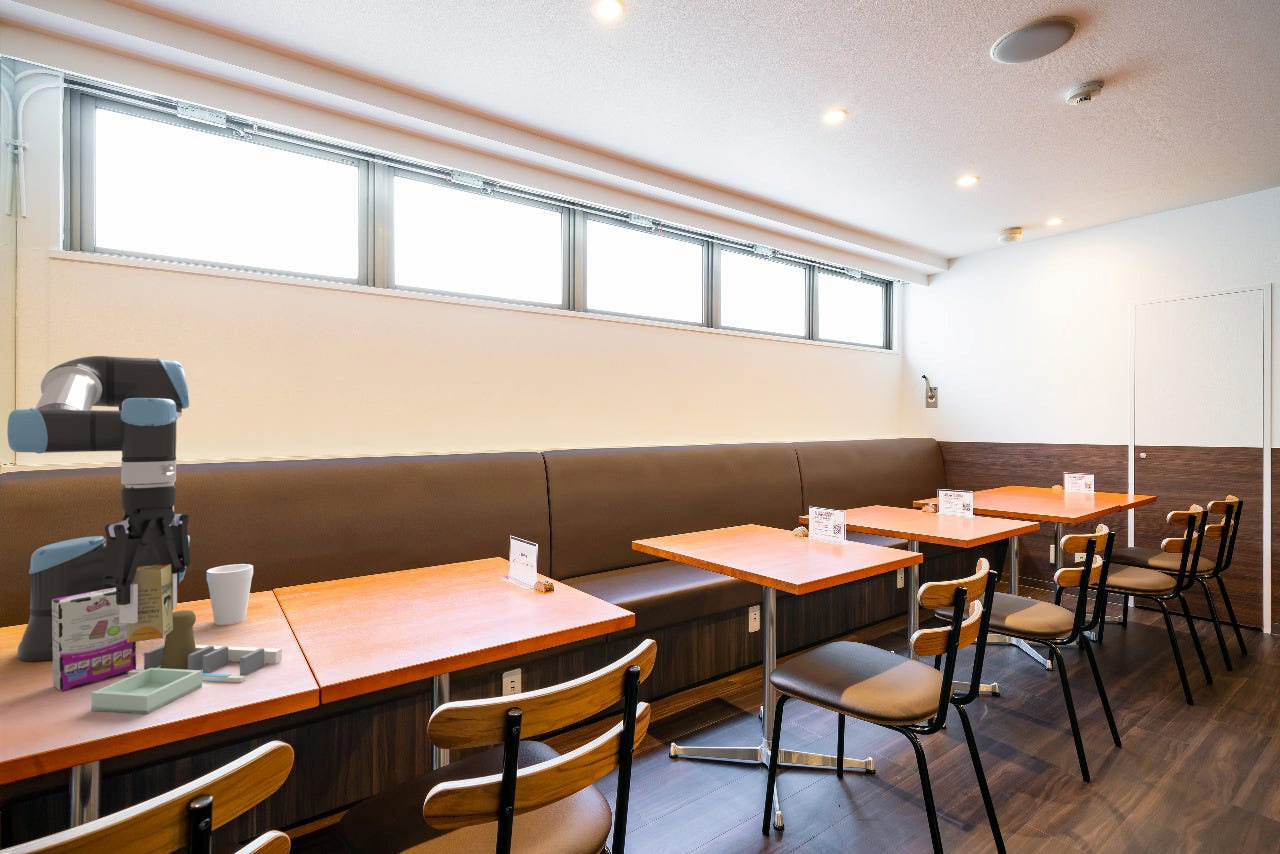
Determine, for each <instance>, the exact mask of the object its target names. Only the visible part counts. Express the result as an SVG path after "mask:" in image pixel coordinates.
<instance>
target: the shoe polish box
mask: <svg viewBox="0 0 1280 854" xmlns="http://www.w3.org/2000/svg"><path fill="white" fill-rule="evenodd" d="M132 584H138V622H136V623H127V643H129V642H136V643H137V642H144V641H150V640H160V639H165V638H166V635H167V634H168V633H170V632H171V631H172V630H173V615H172V613H173V610H172V578H171V564H162V565H152V566H141V567H138V568H137V571H136V574H135V577H134V580H133V583H132Z"/></svg>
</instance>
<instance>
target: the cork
mask: <svg viewBox="0 0 1280 854" xmlns="http://www.w3.org/2000/svg"><path fill="white" fill-rule="evenodd" d="M172 615H173V630H172V631H171V632H170V633H168V634H167V635H166V636H165V637H164V650H163V656H162V662H161V666H160V668H166V669H183V670H188V655H189V654H191V653H194V652H196V646H195V645H196V641H195V635H194V628H193V626H194V625H195V623H196V620H197V616H196V613H194V611H192V610H189V609H188V610H186V609H185V610H177V611H176V610H175V611H172Z"/></svg>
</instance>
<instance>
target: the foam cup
mask: <svg viewBox="0 0 1280 854" xmlns="http://www.w3.org/2000/svg"><path fill="white" fill-rule="evenodd" d="M253 576H254V565H252V564H249V563H248V564H246V563H239V564H227V565H221V566H216V567H212V568H209V569H207V570H206V582H207V585H208V592H209V598H210V605H211V611H212V617H213V621H214V624H215V625H216V626H228V625H235V624H238V623H241V622H243V621H246V617H247V614H248V613H247V612H248V605H249V600H250V599H249V598H250V593H251V585H252V580H253V579H252V578H253Z"/></svg>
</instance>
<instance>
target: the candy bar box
mask: <svg viewBox="0 0 1280 854" xmlns="http://www.w3.org/2000/svg"><path fill="white" fill-rule="evenodd" d="M52 637H53V638H52V646H53V660H52V682H53V683H52V685H53V687H54V688H55V689H57V691H59V692H60V693H61V692H66V691H69V690H73V689H77V688H80V687H83V686H87V685H90V684H91V685H92V684H94V683H97V682H101V681H105V680H108V679H112V678H116V677H118V676H119V677H120V676H122V675H125V674H128V672H129V671H131V670H137V649H136V648H137V647H136V645H137V642H129V643H127V623H119V605H117V603H116V587H115V588H109V589H104V590H99V591H93V592H88V593H83V594H78V595H72V596H67V597H62V598H56V599H52Z"/></svg>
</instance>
